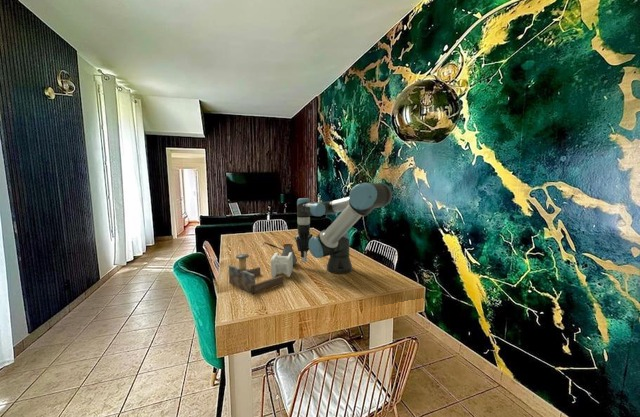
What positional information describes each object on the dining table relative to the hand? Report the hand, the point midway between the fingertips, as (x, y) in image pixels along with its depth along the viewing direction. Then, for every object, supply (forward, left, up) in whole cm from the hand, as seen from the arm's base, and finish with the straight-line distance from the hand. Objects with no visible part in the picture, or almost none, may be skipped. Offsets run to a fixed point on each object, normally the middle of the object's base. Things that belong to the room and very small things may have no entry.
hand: (303, 262), depth 159 cm
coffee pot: (+15, +6, -4) cm, 17 cm away
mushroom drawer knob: (+20, +30, -4) cm, 36 cm away
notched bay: (0, +34, -4) cm, 34 cm away
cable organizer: (0, +17, -4) cm, 17 cm away
